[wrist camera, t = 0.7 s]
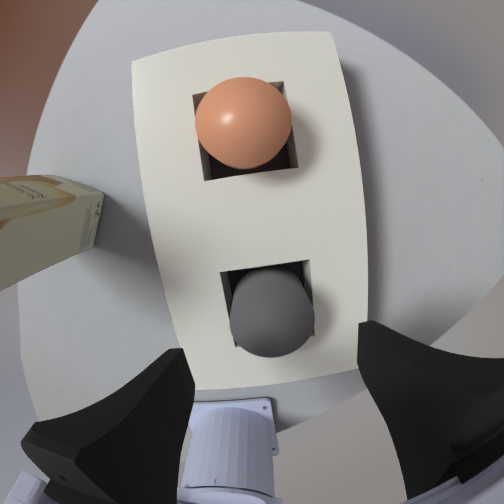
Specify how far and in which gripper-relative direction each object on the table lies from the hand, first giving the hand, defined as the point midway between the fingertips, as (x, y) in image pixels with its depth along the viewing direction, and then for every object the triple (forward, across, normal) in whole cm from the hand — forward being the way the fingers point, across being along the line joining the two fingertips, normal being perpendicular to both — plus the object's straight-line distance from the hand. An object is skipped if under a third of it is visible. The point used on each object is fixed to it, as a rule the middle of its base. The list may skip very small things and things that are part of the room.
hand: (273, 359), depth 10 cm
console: (+8, 0, -5) cm, 10 cm away
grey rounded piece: (+6, 0, 0) cm, 6 cm away
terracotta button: (+6, 0, -10) cm, 12 cm away
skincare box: (+9, +14, -8) cm, 18 cm away
